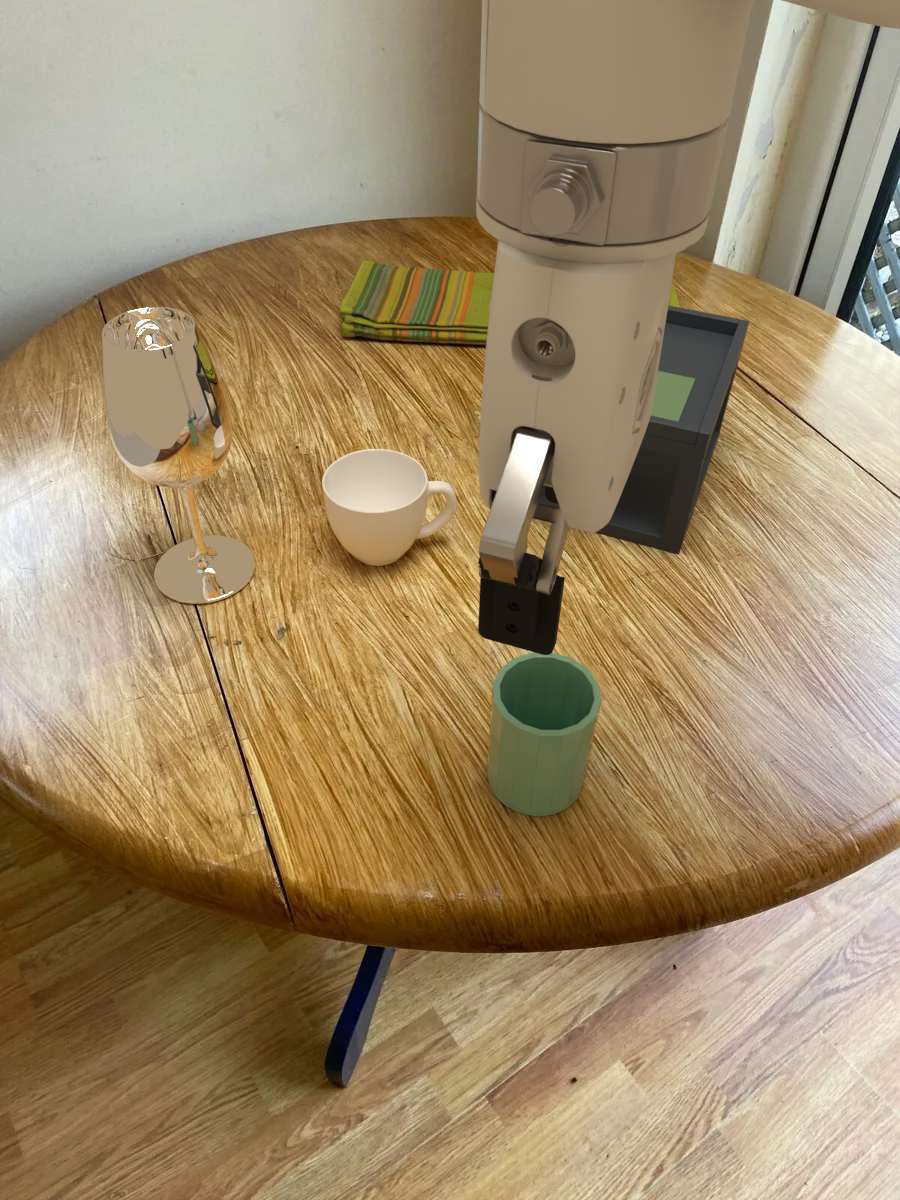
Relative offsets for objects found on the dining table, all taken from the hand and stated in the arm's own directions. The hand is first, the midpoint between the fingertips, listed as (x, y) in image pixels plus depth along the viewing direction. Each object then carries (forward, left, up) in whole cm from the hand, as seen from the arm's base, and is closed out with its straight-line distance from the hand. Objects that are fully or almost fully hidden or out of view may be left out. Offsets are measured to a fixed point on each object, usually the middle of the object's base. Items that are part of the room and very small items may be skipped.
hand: (549, 567), depth 41 cm
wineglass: (+29, -11, -20) cm, 37 cm away
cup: (+17, -19, -20) cm, 32 cm away
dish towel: (+21, -59, -20) cm, 65 cm away
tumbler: (0, -3, -20) cm, 20 cm away
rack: (+3, -36, -20) cm, 41 cm away
